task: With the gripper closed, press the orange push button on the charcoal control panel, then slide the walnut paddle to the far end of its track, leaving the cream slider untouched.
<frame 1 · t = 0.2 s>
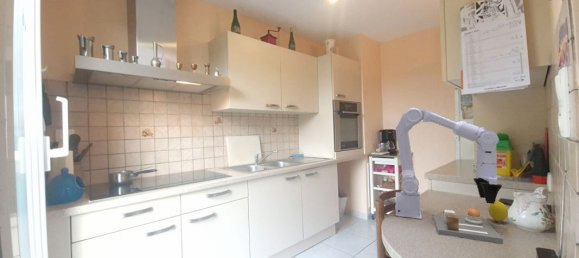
hand: (486, 200, 88), 9 cm above the table, tool pointing down, fingers open, 7 cm apart
lemon: (498, 222, 92), on the table
button orange: (473, 212, 88), point 5 cm above the table, slide at 0.0 cm
slider walnut: (452, 222, 82), point 4 cm above the table, slide at 0.0 cm
slider cream: (449, 216, 87), point 4 cm above the table, slide at 0.0 cm
panel: (463, 229, 85), on the table
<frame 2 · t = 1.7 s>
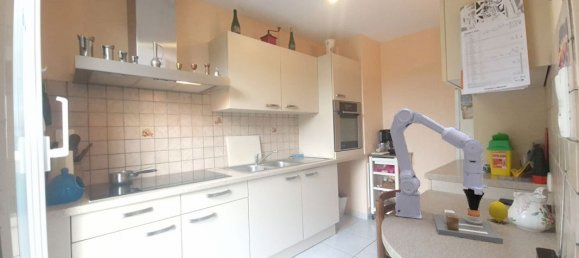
hand: (473, 209, 88), 6 cm above the table, tool pointing down, fingers closed, pressing on button orange
button orange: (473, 212, 88), point 5 cm above the table, slide at 0.0 cm, touching gripper
everything else where it was.
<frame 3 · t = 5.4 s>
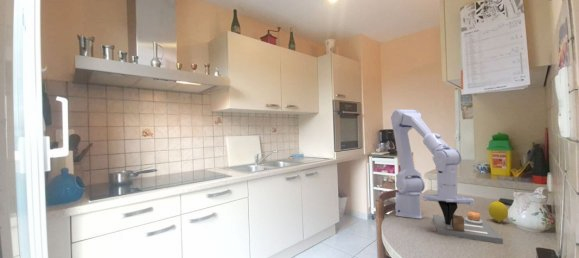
hand: (447, 223, 83), 3 cm above the table, tool pointing down, fingers closed
button orange: (473, 215, 88), point 4 cm above the table, slide at 1.2 cm
slider walnut: (457, 222, 82), point 4 cm above the table, slide at 1.6 cm, touching gripper
everything else where it was.
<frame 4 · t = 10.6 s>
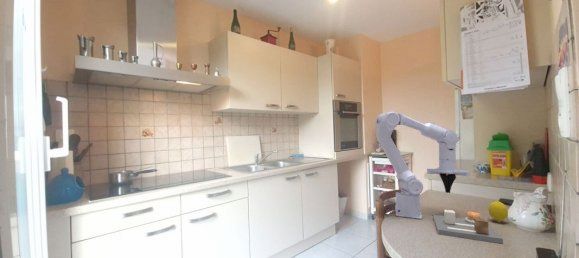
hand: (447, 192, 100), 9 cm above the table, tool pointing down, fingers closed
slider walnut: (481, 225, 79), point 4 cm above the table, slide at 7.9 cm
everything else where it was.
at the end: button orange slide at 1.2 cm; slider walnut slide at 7.9 cm; slider cream slide at 0.0 cm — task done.
